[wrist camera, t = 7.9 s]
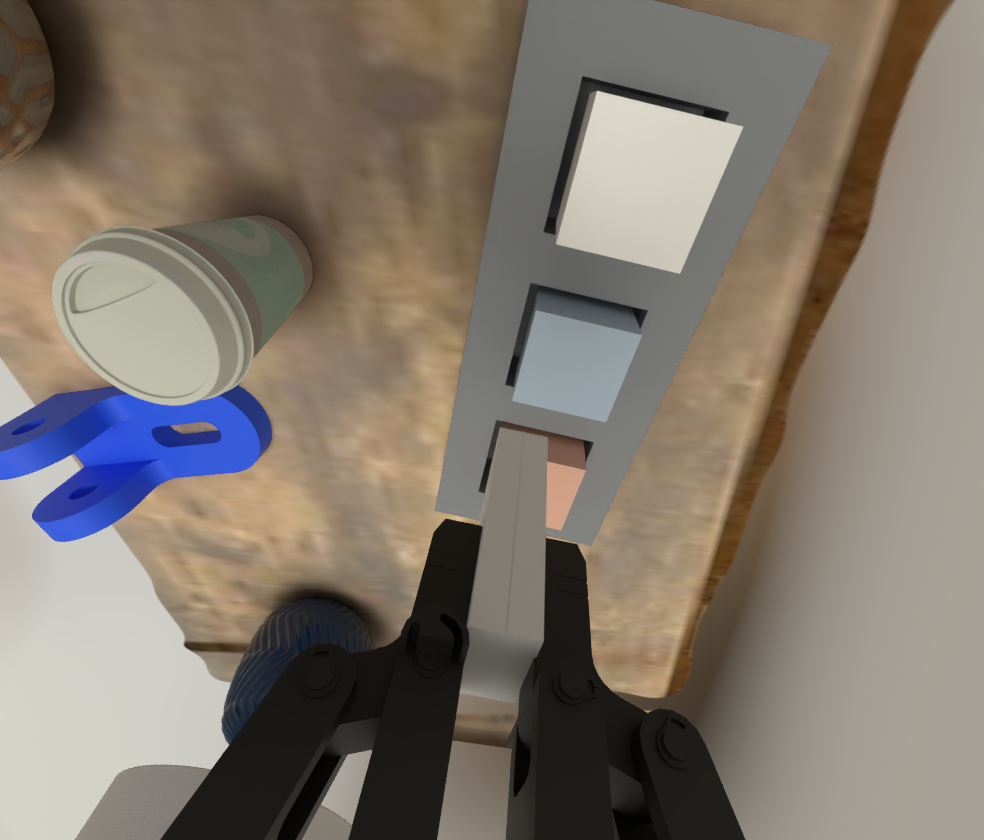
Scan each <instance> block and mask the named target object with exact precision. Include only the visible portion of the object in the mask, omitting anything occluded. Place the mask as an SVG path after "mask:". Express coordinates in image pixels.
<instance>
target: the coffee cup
mask: <svg viewBox="0 0 984 840" xmlns="http://www.w3.org/2000/svg"><path fill="white" fill-rule="evenodd" d="M312 280H313V266H312V261H311V258H310V255H309V253H308V251H307V249H306V247H305V245H304V244H303V242H302V241H301V239H300V238H299V237H298V236H297V235H296V234H295V232H293V231H292V230H291V229H290V228H289V227H288V226H286V225H285V224H283V223H282V222H280V221H278V220H276V219H273V218H271V217H267V216H262V215H252V216H244V217H236V218H228V219H221V220H214V221H206V222H199V223H192V224H185V225H177V226H170V227H163V228H155V229H147V228H142V227H135V226H117V227H111V228H108V229H104V230H102V231H100V232H98V233H96V234H94V235H93V236H92V237H90V238H88V239H86V240H85V241H83V242H82V243H80V244H79V245H78V246H77V247H76V248H75V250H74V251H73V252H72V254H71V256H70V257H69V258H68V259H67V260H66V261H64V263H63V264H62V265H61V266H60V267H59V268H58V270H57V272H56V274H55V277H54V280H53V283H52V303H53V307H54V312H55V315H56V318H57V321H58V323H59V325H60V327H61V330H62V331H63V333H64V335H65V337H66V338H67V340H68V341H69V343H70V344H71V346H72V347H73V349H74V350H75V351H76V352H77V354H78V355H79V356H80V357H81V358H82V359H83V360H84V361H85V363H86V364H87V365H89V366H90V367H91V368H92V369H93V370H94V371H95V372H96V373H97V374H99V375H100V376H101V377H102V378H104V379H105V380H106V381H108V382H109V383H111V384H112V385H114V386H115V387H117V388H118V389H120V390H122V391H124V392H126V393H128V394H130V395H132V396H134V397H137V398H139V399H142V400H145V401H148V402H152V403H156V404H161V405H170V406H177V405H186V404H190V403H194V402H196V401H199V400H206V399H211V398H214V397H216V396H219V395H221V394H223V393H224V392H226V391H229V390H230V389H232V388H234V387H235V386H237V385H238V384H239V383H240V382H241V381H242V380H243V379H244V377H245V376H246V374H247V373H248V371H249V369H250V366H251V363H252V359H253V358H254V357H255V356H256V354H257V353H258V352H259V351H260V350H261V348H262V347H263V346H264V345H265V344H266V342H267V341H268V340H269V339H270V338H271V336H272V335H273V334H274V333H275V332H276V330H277V329H278V328H279V327H280V326H281V324H282V323H283V322H284V321H285V320H286V318H287V317H288V316H289V315H290V314H291V312H292V311H293V310H294V309H295V308H296V306H297V305H298V304H299V303H300V301H301V300H302V299H303V298H304V297H305V295H306V294H307V293H308V291H309V289H310V287H311V284H312Z"/></svg>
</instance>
